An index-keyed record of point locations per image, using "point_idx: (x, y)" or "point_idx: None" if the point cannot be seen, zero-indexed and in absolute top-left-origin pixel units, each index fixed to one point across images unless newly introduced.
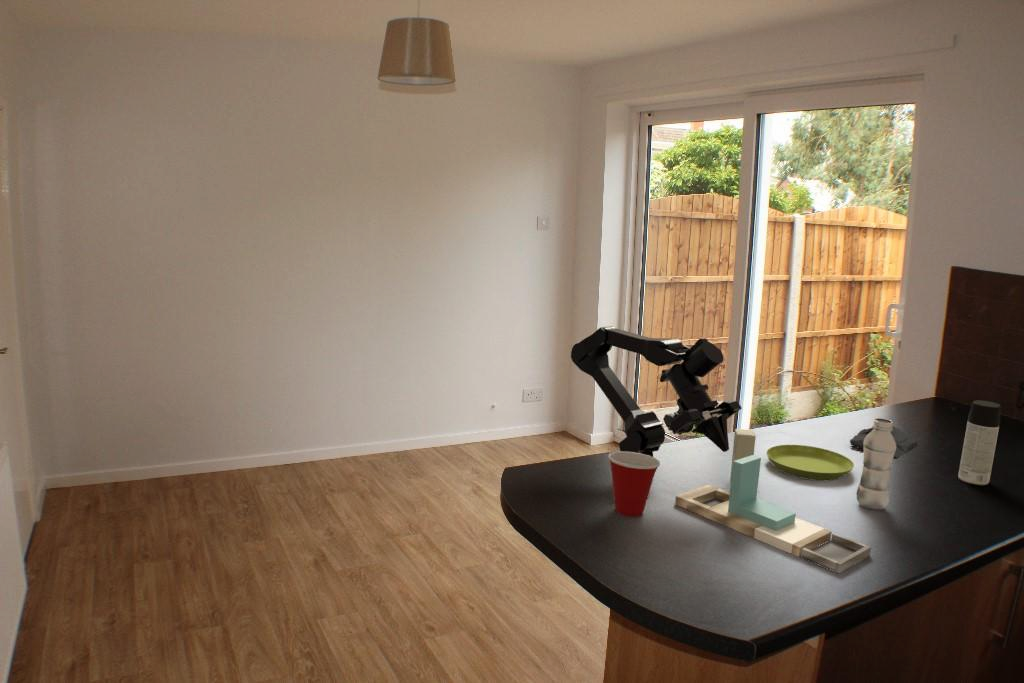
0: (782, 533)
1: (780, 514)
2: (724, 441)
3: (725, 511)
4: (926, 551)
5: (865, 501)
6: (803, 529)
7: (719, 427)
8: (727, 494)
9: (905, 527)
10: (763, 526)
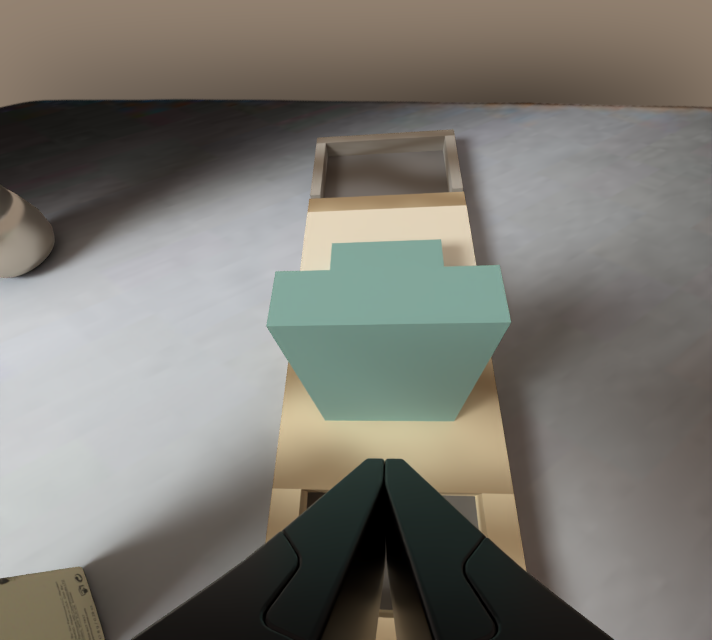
0: None
1: (382, 259)
2: (413, 487)
3: (462, 427)
4: (215, 126)
5: (42, 239)
6: (359, 232)
7: (482, 620)
8: None
9: (117, 179)
10: None
